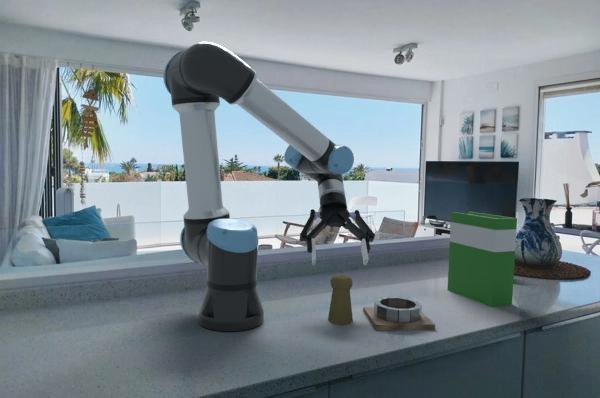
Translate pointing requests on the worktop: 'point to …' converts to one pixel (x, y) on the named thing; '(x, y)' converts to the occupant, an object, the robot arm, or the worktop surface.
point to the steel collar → (397, 309)
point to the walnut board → (386, 325)
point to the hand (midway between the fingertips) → (340, 262)
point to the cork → (340, 300)
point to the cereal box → (482, 257)
